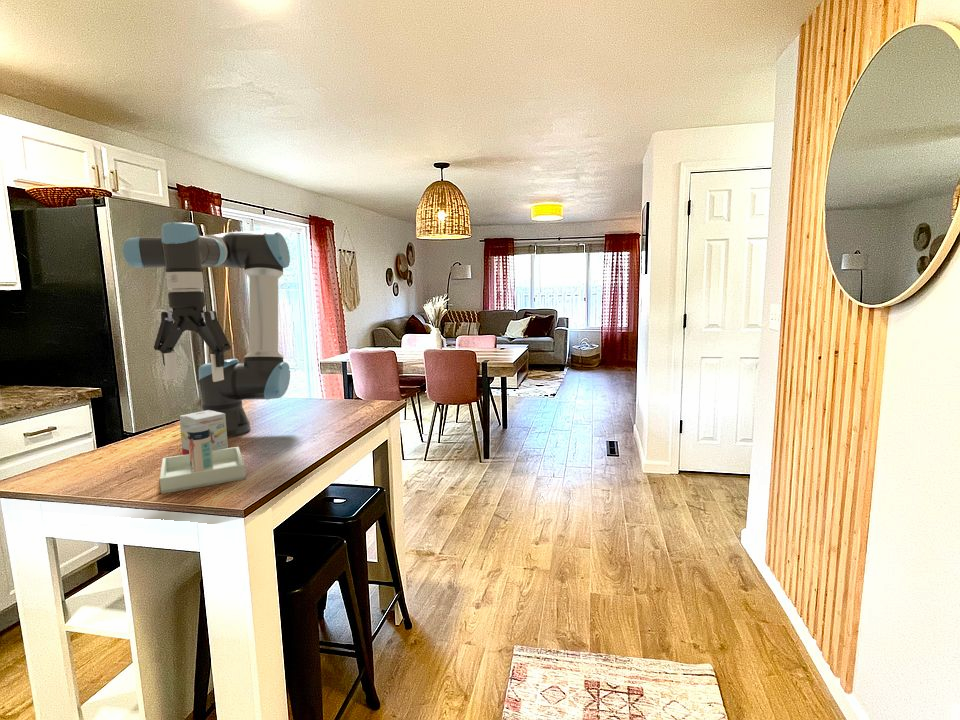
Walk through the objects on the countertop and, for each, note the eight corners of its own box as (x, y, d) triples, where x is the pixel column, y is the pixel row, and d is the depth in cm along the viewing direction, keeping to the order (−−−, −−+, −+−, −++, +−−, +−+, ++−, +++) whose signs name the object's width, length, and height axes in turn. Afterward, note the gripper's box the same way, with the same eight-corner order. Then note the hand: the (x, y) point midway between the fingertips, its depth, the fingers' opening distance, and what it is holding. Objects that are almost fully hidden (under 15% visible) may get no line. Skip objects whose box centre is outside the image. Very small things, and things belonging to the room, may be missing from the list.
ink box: (199, 462, 139) (195, 418, 137) (182, 457, 144) (177, 415, 142) (229, 453, 146) (226, 411, 145) (212, 448, 151) (208, 408, 149)
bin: (164, 471, 132) (162, 457, 132) (239, 459, 141) (238, 446, 140) (161, 493, 117) (159, 478, 117) (245, 478, 125) (244, 464, 125)
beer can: (196, 470, 130) (191, 423, 129) (216, 469, 131) (211, 422, 129) (188, 477, 126) (183, 428, 124) (209, 475, 126) (204, 427, 125)
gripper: (130, 292, 123) (140, 381, 126) (217, 290, 116) (226, 384, 119) (157, 291, 130) (166, 375, 133) (241, 289, 123) (249, 378, 126)
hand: (195, 380), depth 126 cm, fingers open, 13 cm apart
